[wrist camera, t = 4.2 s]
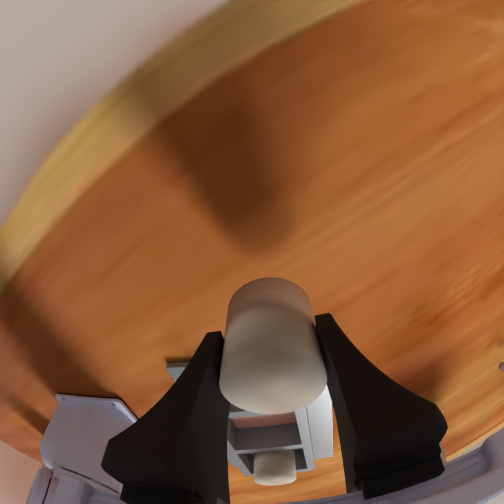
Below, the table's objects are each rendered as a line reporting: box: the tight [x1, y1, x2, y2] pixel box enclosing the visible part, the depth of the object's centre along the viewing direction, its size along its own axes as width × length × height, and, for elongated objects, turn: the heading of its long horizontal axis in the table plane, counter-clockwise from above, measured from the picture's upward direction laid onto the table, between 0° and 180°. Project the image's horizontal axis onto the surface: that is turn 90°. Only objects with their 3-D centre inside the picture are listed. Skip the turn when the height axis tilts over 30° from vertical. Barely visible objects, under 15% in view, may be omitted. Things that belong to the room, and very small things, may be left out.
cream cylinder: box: [219, 278, 327, 414], centre depth 12 cm, size 4×4×4 cm
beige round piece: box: [254, 449, 296, 485], centre depth 24 cm, size 4×4×4 cm
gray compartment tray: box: [166, 362, 333, 477], centre depth 24 cm, size 12×20×3 cm, turn 12°
